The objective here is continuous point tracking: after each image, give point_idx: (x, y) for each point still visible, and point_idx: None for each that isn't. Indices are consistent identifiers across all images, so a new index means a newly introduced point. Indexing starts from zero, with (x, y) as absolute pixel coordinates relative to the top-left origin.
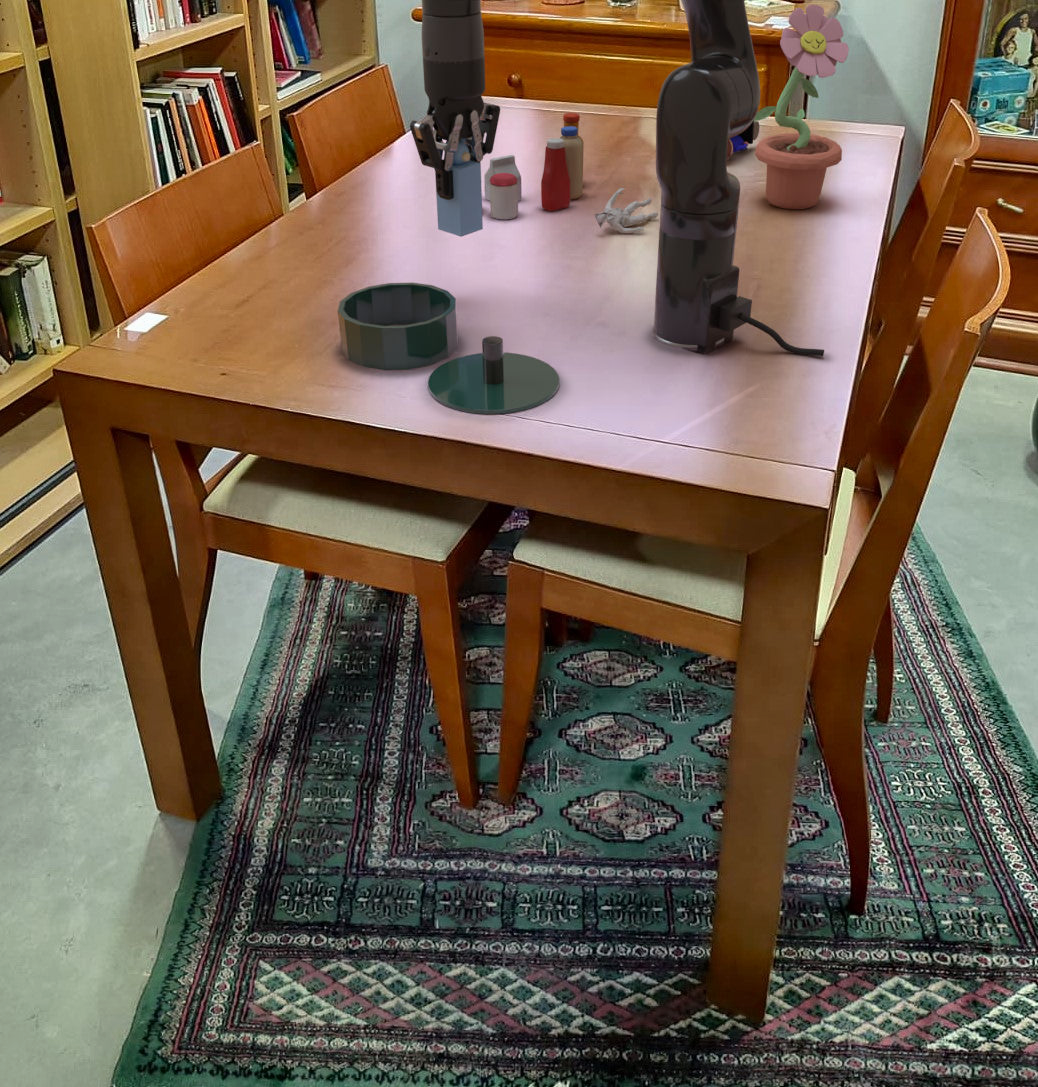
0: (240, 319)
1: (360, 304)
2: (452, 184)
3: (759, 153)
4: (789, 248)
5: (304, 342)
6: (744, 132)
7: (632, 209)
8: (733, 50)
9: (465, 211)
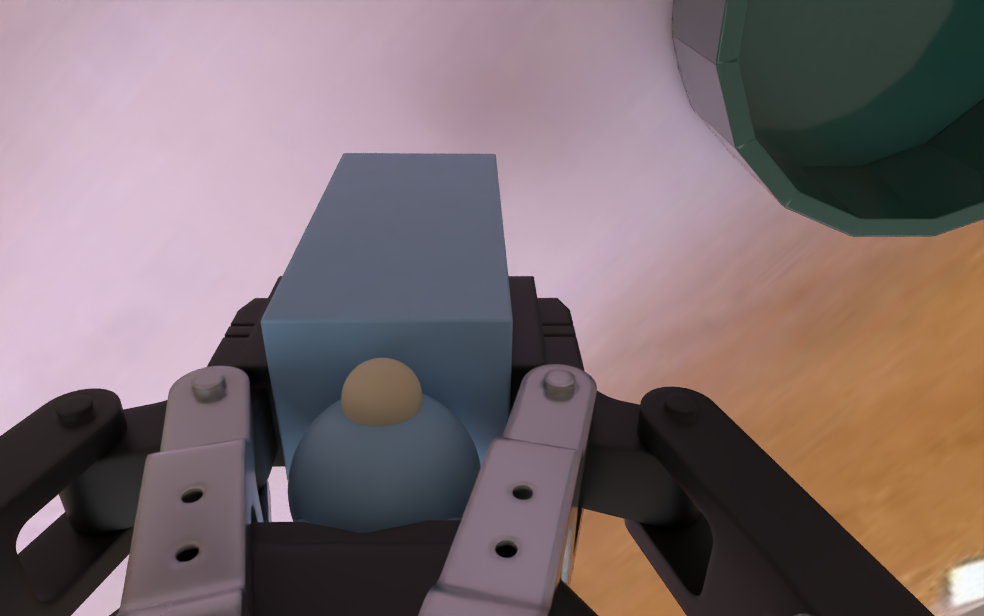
0: (894, 466)
1: (892, 202)
2: (515, 313)
3: None
4: None
5: (949, 256)
6: None
7: None
8: None
9: (456, 196)
